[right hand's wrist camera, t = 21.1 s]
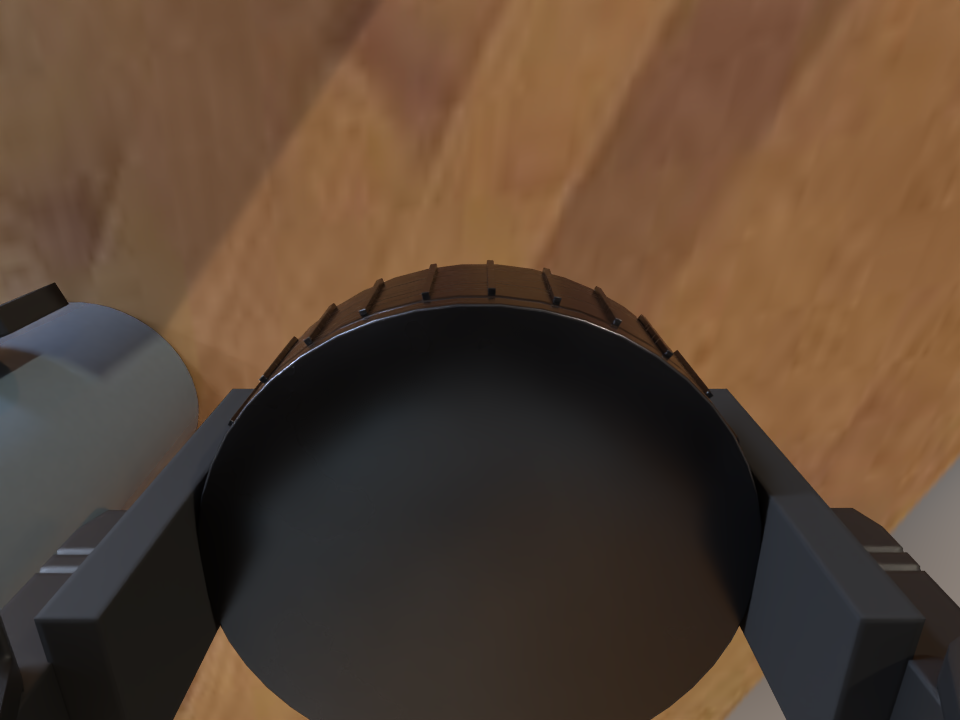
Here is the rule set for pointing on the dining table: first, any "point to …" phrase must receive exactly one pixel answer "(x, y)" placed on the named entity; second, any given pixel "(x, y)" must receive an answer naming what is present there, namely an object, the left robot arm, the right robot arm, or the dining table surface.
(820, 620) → the right robot arm
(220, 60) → the dining table surface
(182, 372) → the jar
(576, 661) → the lid
